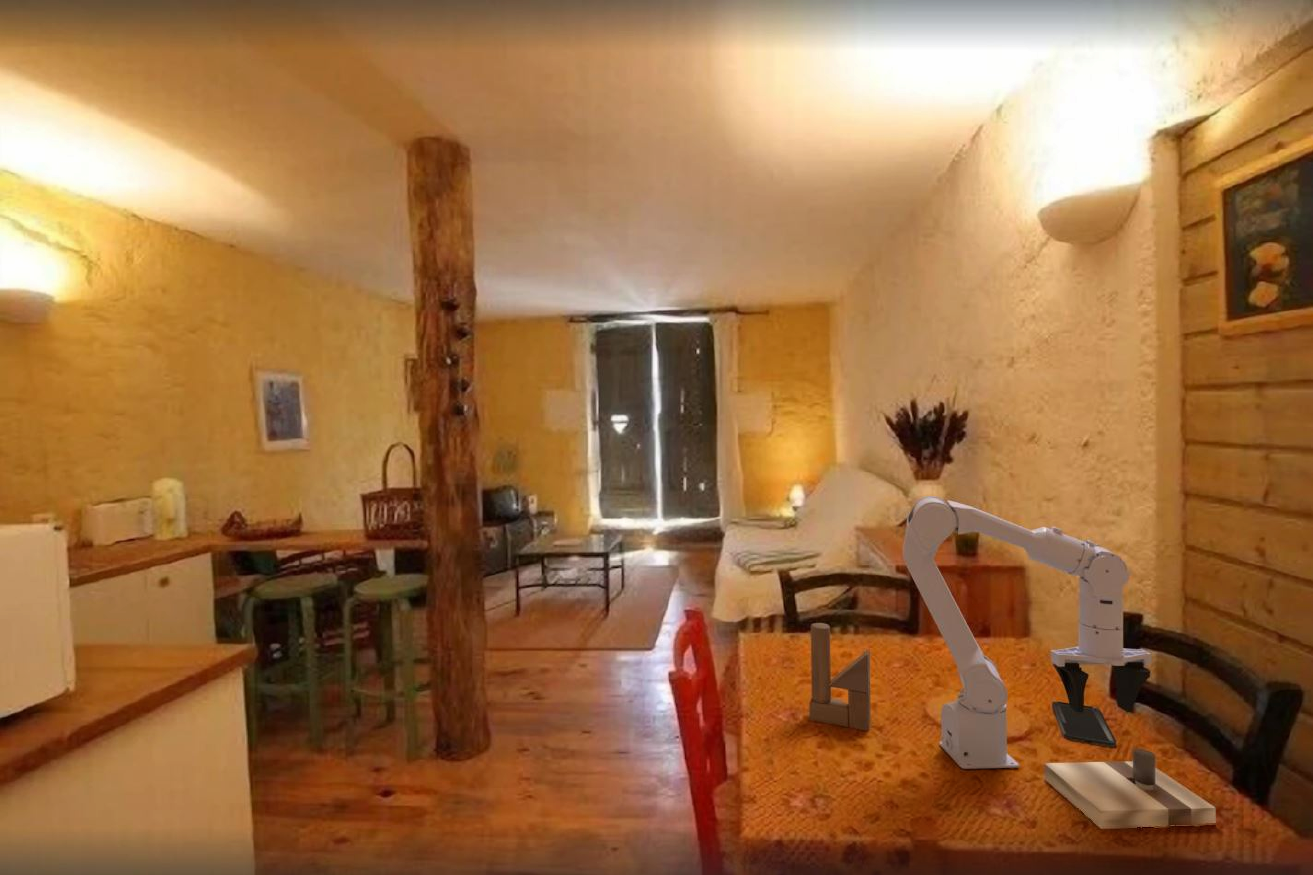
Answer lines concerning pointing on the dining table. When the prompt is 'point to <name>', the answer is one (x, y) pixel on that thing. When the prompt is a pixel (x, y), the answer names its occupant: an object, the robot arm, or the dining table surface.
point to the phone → (1083, 725)
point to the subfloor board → (1126, 796)
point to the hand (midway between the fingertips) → (1100, 709)
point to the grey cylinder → (1144, 769)
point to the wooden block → (838, 685)
